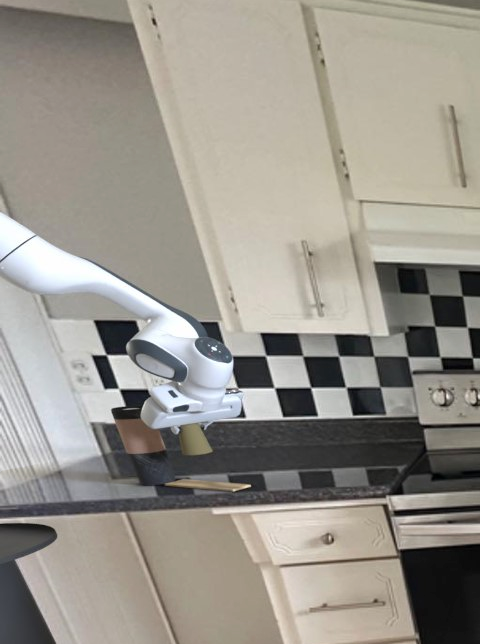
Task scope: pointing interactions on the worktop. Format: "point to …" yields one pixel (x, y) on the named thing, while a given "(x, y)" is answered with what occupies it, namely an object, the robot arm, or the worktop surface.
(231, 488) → the strip
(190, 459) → the worktop surface
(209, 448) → the olive green tapered cylinder
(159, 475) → the travel mug
